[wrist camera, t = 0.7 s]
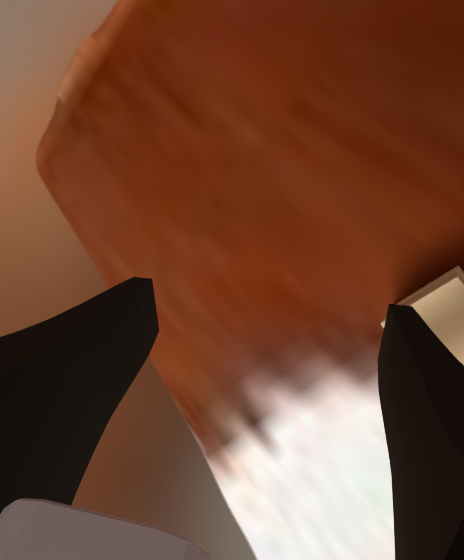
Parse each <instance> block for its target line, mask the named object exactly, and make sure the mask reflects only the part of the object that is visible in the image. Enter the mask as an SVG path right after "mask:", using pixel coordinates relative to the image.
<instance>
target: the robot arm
mask: <svg viewBox="0 0 464 560" xmlns="http://www.w3.org/2000/svg"><path fill="white" fill-rule="evenodd" d="M158 332H159V326H158V319H157V312H156V304H155V297H154V290H153V283H152V279H148V278H139V277H133V278H131V279H128V280H126V281H124V282H122V283H120V284H118V285H116V286H114V287H112V288H110V289H108V290H107V291H105V292H103V293H101V294H99V295H97V296H95V297H93V298H91V299H89V300H88V301H86V302H84V303H82V304H80V305H78V306H76V307H73V308H71V309H69V310H67V311H65V312H63V313H61V314H59V315H57V316H55V317H52V318H50V319H48V320H46V321H43V322H41V323H38V324H36V325H33V326H31V327H28V328H25V329H23V330H20V331H17V332H15V333H11V334H8V335H5V336H2V337H0V560H212V559H211V557H210V555H209V554H208V553H207V552H206V551H205V550H204V549H202V548H201V547H200V546H198V545H197V544H196V543H194V542H193V541H192V540H190V539H189V538H188V537H185V536H183V535H180V534H178V533H175V532H172V531H170V530H167V529H165V528H162V527H158V526H154V525H150V524H146V523H142V522H137V521H133V520H129V519H125V518H121V517H116V516H112V515H108V514H103V513H100V512H95V511H91V510H87V509H83V508H79V507H74V506H71V504H72V502H73V499H74V497H75V494H76V492H77V490H78V487H79V485H80V482H81V480H82V477H83V475H84V473H85V470H86V468H87V466H88V464H89V462H90V459H91V457H92V455H93V453H94V451H95V448H96V446H97V444H98V442H99V440H100V438H101V436H102V434H103V432H104V429H105V427H106V425H107V423H108V421H109V420H110V418H111V416H112V414H113V413H114V411H115V409H116V407H117V406H118V404H119V403H120V401H121V400H122V398H123V396H124V395H125V393H126V392H127V390H128V388H129V387H130V385H131V383H132V382H133V380H134V379H135V377H136V375H137V374H138V372H139V371H140V369H141V367H142V365H143V364H144V362H145V361H146V359H147V357H148V355H149V353H150V351H151V349H152V346H153V344H154V342H155V339H156V337H157V334H158ZM378 388H379V396H380V403H381V409H382V416H383V422H384V428H385V434H386V440H387V446H388V452H389V459H390V467H391V475H392V493H393V512H394V536H395V560H464V365H463V364H462V363H461V362H460V361H459V360H458V359H457V358H456V357H455V356H454V355H453V354H452V353H451V352H450V351H449V350H448V348H447V347H446V346H445V345H444V344H443V343H442V342H441V341H440V339H439V338H438V337H437V336H436V335H435V333H434V332H433V331H432V330H431V329H430V327H429V326H428V325H427V324H426V322H425V321H424V320H423V319H422V318H421V316H420V315H419V314H418V313H417V311H416V310H415V309H414V308H413V307H412V306H407V305H397V304H389V306H388V311H387V316H386V321H385V326H384V331H383V336H382V341H381V346H380V351H379V356H378Z"/></svg>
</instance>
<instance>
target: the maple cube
mask: <svg viewBox="0 0 464 560" xmlns="http://www.w3.org/2000/svg"><path fill="white" fill-rule="evenodd" d="M397 305H407V306H412V307H413V308H414V309H415V310H416V311H417V313H418V314H419V315H420V316H421V318H422V319H423V320H424V321H425V322H426V324H427V325H428V326H429V327H430V329H431V330H432V331H433V332H434V333H435V335H436V336H437V337H438V338H439V339H440V341H441V342H442V343H443V344H444V345H445V346H446V347H447V348H448V350H449V351H450V352H451V353H452V354H453V355H454V356H455V357H456V358H457V359H458V360H459V361H460V362H461V363H462V364H463V365H464V271H463V270H462V269H461V268H460V266H459V265H458V266H456V267H455V268H453V269H451V270H450V271H448V272H447V273H445V274H443V275H442V276H440V277H439V278H437V279H435V280H434V281H432V282H431V283H429V284H427V285H426V286H424V287H423V288H421V289H419V290H418V291H416V292H415V293H413V294H411V295H410V296H408V297H407V298H405V299H403V300H402V301H400V302H399V303H397ZM386 316H387V315H386ZM386 316H385V318H384V319H383V321H382V322H381V323H380V324H381V325H382V326H383V328H384V326H385V321H386Z"/></svg>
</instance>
